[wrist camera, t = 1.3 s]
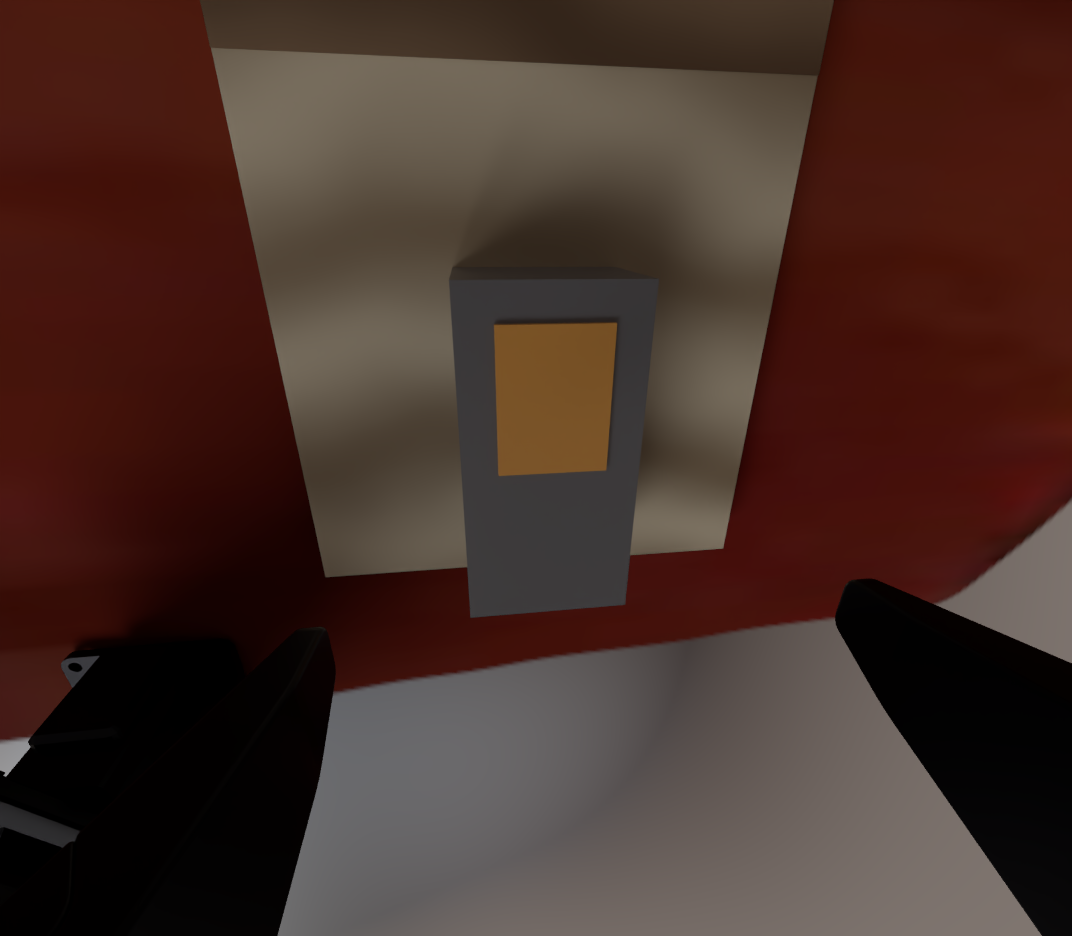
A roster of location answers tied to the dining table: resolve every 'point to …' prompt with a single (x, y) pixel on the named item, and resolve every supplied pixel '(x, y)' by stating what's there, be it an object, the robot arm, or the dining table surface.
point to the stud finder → (550, 430)
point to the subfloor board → (509, 225)
